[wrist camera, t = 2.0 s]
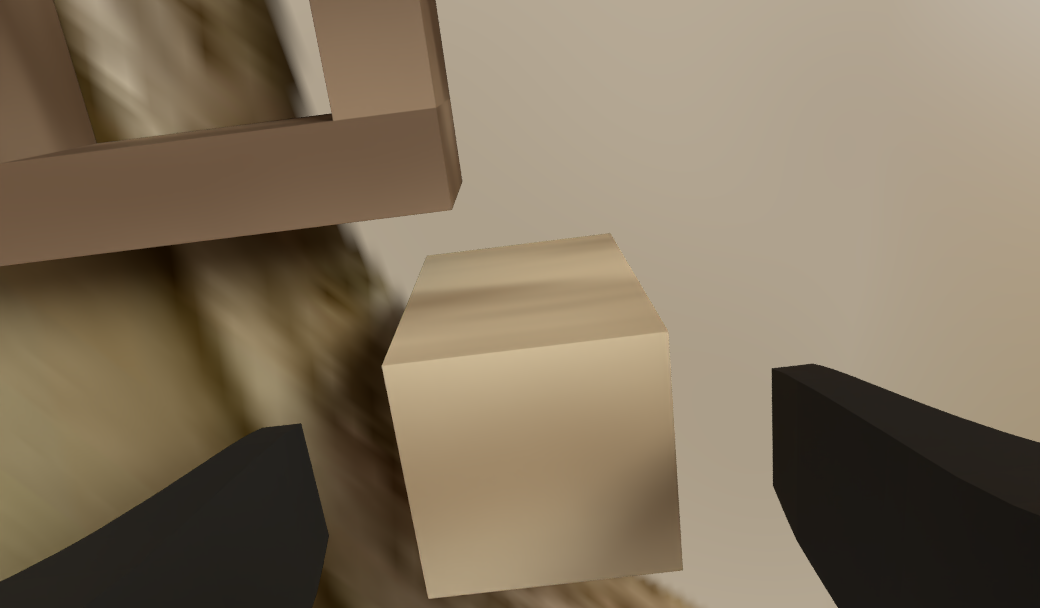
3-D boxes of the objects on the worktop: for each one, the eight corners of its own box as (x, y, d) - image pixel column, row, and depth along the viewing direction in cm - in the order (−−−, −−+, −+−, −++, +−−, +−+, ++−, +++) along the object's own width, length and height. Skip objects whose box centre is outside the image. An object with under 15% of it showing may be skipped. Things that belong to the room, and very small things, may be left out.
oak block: (623, 399, 17) (683, 570, 11) (454, 419, 17) (428, 599, 11) (610, 233, 16) (667, 331, 10) (427, 255, 16) (382, 365, 10)
